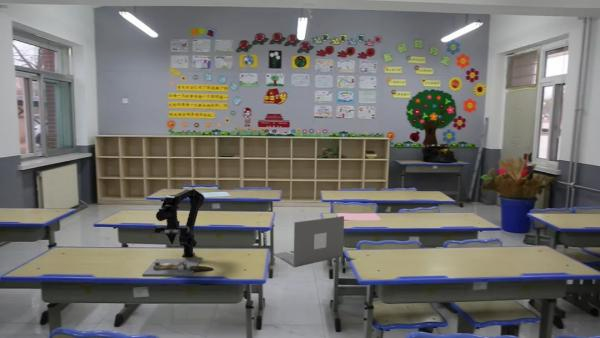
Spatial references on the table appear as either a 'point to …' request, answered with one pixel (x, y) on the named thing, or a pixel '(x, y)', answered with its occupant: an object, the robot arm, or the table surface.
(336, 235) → the laptop
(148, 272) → the pivot board
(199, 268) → the stone
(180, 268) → the keeper
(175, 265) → the link
